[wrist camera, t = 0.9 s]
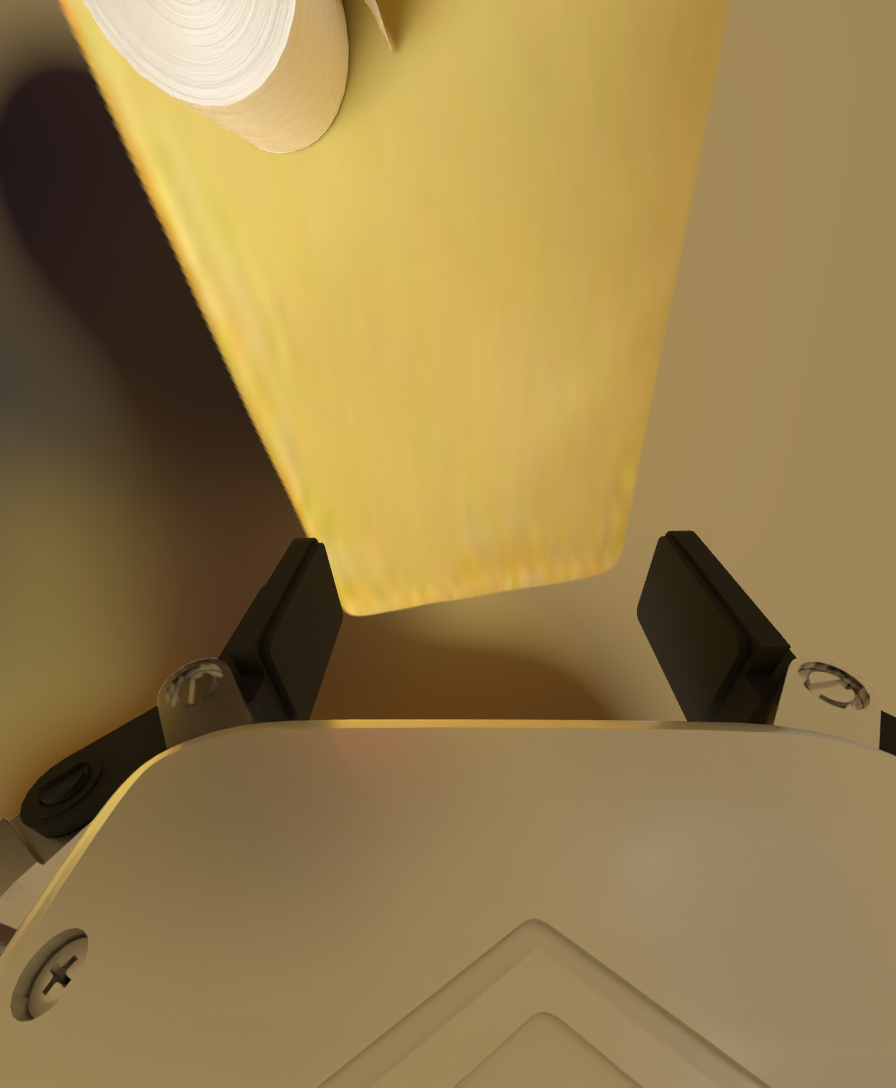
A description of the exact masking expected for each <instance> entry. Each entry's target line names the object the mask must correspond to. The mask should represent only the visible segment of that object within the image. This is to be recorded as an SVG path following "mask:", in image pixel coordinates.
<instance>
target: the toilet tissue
mask: <svg viewBox="0 0 896 1088" xmlns="http://www.w3.org/2000/svg"><path fill="white" fill-rule="evenodd" d="M83 1H84V2H85V4H86V6H87V7H88V9H89V11H90V12H91V14H92V16H93V18H94V19H95V21H96V23H97V24H98V26H99V27H100V29H101V31H102V32H103V34H104V35H105V37H106V38H107V39H108V41H109V42H110V43H111V44H112V45H113V46H114V47H115V48H116V49H117V50H118V51H119V53H120V54H121V55H122V56H123V57H124V58H125V59H126V60H127V61H128V62H129V63H130V64H131V65H132V67H133V68H134V69H135V70H136V72H137V73H138V74H139V75H141V76H143V77H144V78H146V79H148V80H149V81H151V82H152V83H153V84H155V85H156V86H157V87H158V88H159V89H160V90H162V91H163V92H164V93H166V94H168V95H171V96H172V97H173V98H174V99H176V100H177V101H179V102H181V103H182V104H184V105H186V106H188V107H189V108H191V109H193V110H196V111H198V112H199V113H201V114H202V115H203V116H204V117H206V118H208V119H211V120H212V121H214V122H215V123H217V124H218V125H219V126H221V127H223V128H224V129H226V130H228V131H229V132H231V133H233V134H235V135H237V136H239V137H240V138H241V139H242V140H245V141H246V142H247V143H250V144H253V145H255V146H256V147H258V148H260V149H262V150H264V151H268V152H273V153H277V154H280V153H288V152H294V151H297V150H301V149H304V148H306V147H308V146H309V145H311V144H312V143H314V142H315V141H317V140H318V139H319V138H320V137H321V136H322V135H323V134H324V133H325V132H326V130H327V129H328V128H329V127H330V125H331V123H332V122H333V120H334V118H335V116H336V114H337V113H338V110H339V107H340V104H341V102H342V99H343V96H344V93H345V87H346V81H347V75H348V58H349V43H348V34H347V25H346V19H345V14H344V8H343V4H342V0H83ZM364 1H365V2H366V4H367V5H368V7H369V8H370V10H371V11H372V13H373V15H374V16H375V18H376V20H377V22H378V25H379V27H380V29H381V31H382V33H383V35H384V37H385V38H386V40H387V42H388V36H387V34H386V32H385V27H384V25H383V21H382V19H381V14H380V12H379V8H378V5H377V3H376V0H364ZM388 44H389V42H388ZM389 47H390V49H391V46H390V44H389ZM391 52H392V51H391ZM392 54H393V53H392Z"/></svg>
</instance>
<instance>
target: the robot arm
mask: <svg viewBox="0 0 896 1088" xmlns="http://www.w3.org/2000/svg"><path fill="white" fill-rule="evenodd" d="M637 616H638V620H639V622H640V624H641V626H642V628H643V631H644V633H645V635H646V637H647V639H648V640H649V643H650V645H651V647H652V649H653V651H654V653H655V655H656V657H657V660H658V662H659V664H660V666H661V668H662V670H663V672H664V674H665V676H666V678H667V680H668V682H669V684H670V686H671V688H672V691H673V693H674V695H675V697H676V699H677V701H678V703H679V705H680V707H681V709H682V711H683V713H684V715H685V718H686V720H687V721H610V720H608V721H607V720H309V719H310V716H311V713H312V710H313V707H314V703H315V700H316V698H317V695H318V692H319V689H320V686H321V683H322V680H323V677H324V674H325V671H326V668H327V665H328V662H329V659H330V656H331V653H332V650H333V647H334V644H335V641H336V638H337V635H338V632H339V629H340V626H341V623H342V618H343V613H342V608H341V604H340V600H339V597H338V593H337V589H336V586H335V582H334V578H333V575H332V571H331V567H330V564H329V560H328V556H327V553H326V549H325V546H324V544H323V543H318V540H317V539H316V538H295V539H294V540H293V541H292V542H291V544H290V546H289V547H288V549H287V551H286V552H285V554H284V556H283V557H282V559H281V561H280V562H279V564H278V566H277V567H276V569H275V570H274V572H273V574H272V575H271V577H270V579H269V580H268V582H267V584H266V585H264V586H263V587H262V588H261V590H260V591H259V593H258V594H257V596H256V598H255V599H254V601H253V602H252V604H251V606H250V607H249V609H248V611H247V612H246V614H245V615H244V617H243V619H242V620H241V622H240V624H239V625H238V627H237V628H236V630H235V632H234V633H233V635H232V637H231V638H230V640H229V641H228V643H227V645H226V647H225V648H224V650H223V651H222V653H221V655H220V656H219V658H218V659H216V658H207V659H201V660H197V661H195V662H192V663H190V664H187V665H186V666H184V667H182V668H181V669H179V670H177V671H176V672H175V673H174V674H173V675H171V676H170V677H169V678H168V679H167V681H166V682H165V683H164V684H163V685H162V687H161V689H160V691H159V693H158V696H157V705H158V706H156V707H154V708H153V709H151V710H149V711H147V712H146V713H144V714H142V715H140V716H139V717H137V718H135V719H133V720H132V721H130V722H128V723H126V724H125V725H123V726H121V727H119V728H118V729H116V730H114V731H112V732H111V733H109V734H107V735H105V736H104V737H102V738H100V739H98V740H97V741H95V742H93V743H91V744H90V745H88V746H86V747H84V748H83V749H81V750H79V751H77V752H76V753H74V754H72V755H70V756H69V757H67V758H65V759H64V760H62V761H61V762H59V763H58V764H56V765H55V766H53V767H52V768H50V769H49V770H48V771H47V772H46V773H45V774H44V775H43V776H42V777H40V778H39V779H38V780H37V782H36V783H35V784H34V785H33V787H32V788H31V789H30V790H29V791H28V793H27V795H26V797H25V799H24V801H23V803H22V806H21V812H20V813H19V814H18V815H17V816H15V817H14V818H13V819H12V820H11V821H8V820H6V819H5V818H2V819H1V820H0V1088H896V717H894V716H892V715H890V714H887V713H885V712H883V711H881V703H880V698H879V696H878V694H877V693H876V691H875V690H874V688H873V687H872V686H871V685H870V684H869V683H868V682H867V681H866V680H865V679H864V678H862V677H861V676H860V675H858V674H857V673H855V672H854V671H852V670H851V669H849V668H847V667H845V666H843V665H841V664H839V663H837V662H834V661H831V660H828V659H825V658H821V657H815V656H803V657H798V658H796V657H795V655H794V654H793V653H792V652H791V651H790V647H791V646H790V645H789V644H788V643H787V642H786V640H785V639H784V638H783V637H782V635H781V634H780V633H779V632H778V631H777V630H776V629H775V627H774V626H773V625H772V624H771V622H770V621H769V620H768V619H767V618H766V616H765V615H764V614H763V613H762V612H761V611H760V609H759V608H758V607H757V606H756V605H755V603H754V602H753V601H752V600H751V599H750V597H749V596H748V595H747V594H746V593H745V592H744V590H743V589H742V588H741V587H740V586H739V584H738V583H737V582H736V581H735V580H734V579H733V577H732V576H731V575H730V574H729V573H728V571H727V570H726V569H725V568H724V567H723V565H722V564H721V563H720V562H719V561H718V560H717V558H716V557H715V556H714V555H713V554H712V552H711V551H710V550H709V549H708V548H707V546H706V545H705V544H704V543H703V542H702V541H701V539H700V538H699V537H698V536H697V535H696V534H695V533H694V532H693V531H669V532H667V533H666V535H665V536H662V537H660V538H659V540H658V543H657V546H656V549H655V552H654V555H653V559H652V562H651V565H650V568H649V572H648V575H647V578H646V581H645V584H644V587H643V591H642V594H641V597H640V600H639V603H638V607H637Z"/></svg>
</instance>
